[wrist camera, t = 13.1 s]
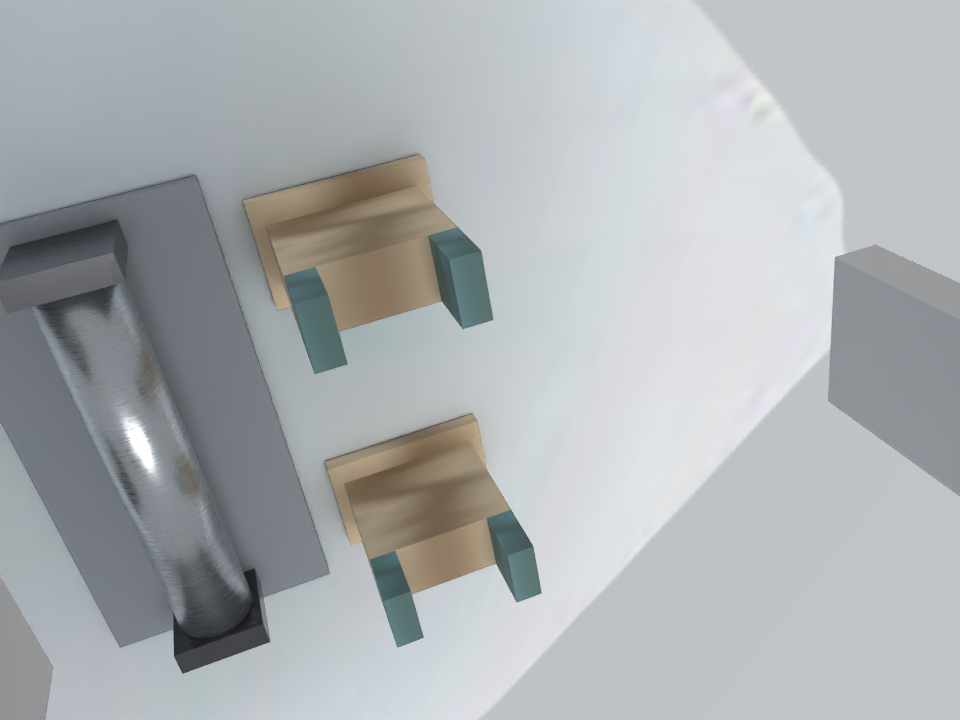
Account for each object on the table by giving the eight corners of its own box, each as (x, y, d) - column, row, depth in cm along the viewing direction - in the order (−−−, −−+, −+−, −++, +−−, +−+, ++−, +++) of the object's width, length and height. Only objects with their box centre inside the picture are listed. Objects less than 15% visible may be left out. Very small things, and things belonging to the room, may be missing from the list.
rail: (261, 585, 45) (270, 641, 42) (180, 613, 44) (182, 673, 41) (117, 219, 35) (113, 252, 32) (9, 246, 34) (-8, 284, 31)
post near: (275, 304, 40) (306, 404, 31) (242, 200, 37) (267, 279, 29) (440, 256, 41) (512, 340, 33) (419, 154, 39) (491, 216, 30)
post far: (348, 536, 46) (389, 669, 38) (324, 461, 44) (363, 587, 36) (487, 488, 48) (556, 606, 40) (472, 413, 46) (542, 522, 37)
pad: (120, 639, 45) (120, 647, 44) (-86, 245, 34) (-90, 250, 33) (327, 566, 47) (329, 573, 46) (196, 175, 36) (196, 178, 36)
